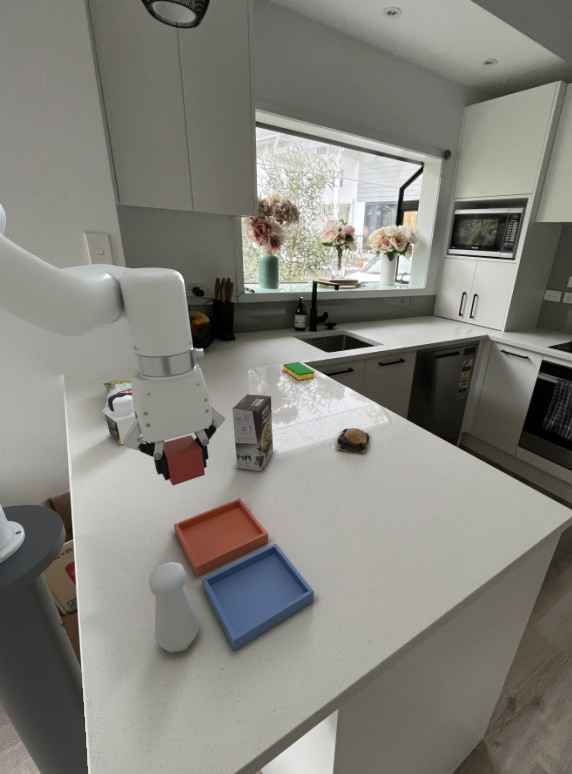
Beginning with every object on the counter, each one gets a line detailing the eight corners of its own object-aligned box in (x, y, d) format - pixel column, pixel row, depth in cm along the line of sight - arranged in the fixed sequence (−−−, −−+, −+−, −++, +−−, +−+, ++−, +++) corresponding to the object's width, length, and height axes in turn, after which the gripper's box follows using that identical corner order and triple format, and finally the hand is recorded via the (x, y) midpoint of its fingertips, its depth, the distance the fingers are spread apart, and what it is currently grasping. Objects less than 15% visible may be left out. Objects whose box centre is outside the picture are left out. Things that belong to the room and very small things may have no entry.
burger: (341, 431, 110) (342, 420, 108) (370, 435, 108) (371, 424, 107) (334, 450, 100) (335, 438, 98) (366, 454, 99) (367, 442, 97)
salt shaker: (210, 630, 54) (200, 565, 49) (178, 667, 50) (163, 599, 44) (181, 612, 57) (169, 547, 51) (148, 645, 52) (130, 578, 47)
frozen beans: (166, 365, 136) (176, 390, 117) (169, 380, 139) (179, 407, 119) (100, 375, 127) (99, 403, 107) (105, 391, 130) (104, 421, 110)
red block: (172, 486, 57) (167, 458, 55) (163, 470, 61) (158, 443, 59) (205, 474, 60) (201, 448, 58) (194, 460, 64) (191, 434, 62)
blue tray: (234, 650, 52) (233, 641, 51) (203, 588, 60) (201, 579, 60) (313, 600, 59) (313, 591, 58) (275, 551, 68) (275, 542, 67)
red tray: (197, 576, 62) (195, 567, 62) (175, 532, 71) (173, 524, 70) (268, 542, 70) (267, 533, 69) (240, 506, 79) (239, 498, 78)
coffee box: (261, 472, 90) (258, 411, 83) (236, 468, 91) (230, 408, 84) (274, 452, 98) (272, 395, 91) (250, 449, 99) (247, 392, 92)
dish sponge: (298, 366, 159) (298, 361, 158) (314, 377, 149) (314, 371, 148) (283, 369, 156) (282, 363, 155) (298, 380, 145) (298, 374, 144)
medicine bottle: (109, 435, 102) (99, 395, 97) (136, 426, 107) (128, 388, 102) (121, 445, 98) (111, 403, 93) (148, 435, 103) (140, 395, 98)
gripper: (215, 346, 60) (226, 444, 68) (92, 364, 51) (120, 476, 58) (234, 358, 55) (243, 463, 62) (100, 381, 45) (130, 502, 53)
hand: (183, 468), depth 60 cm, fingers closed on red block, 5 cm apart
